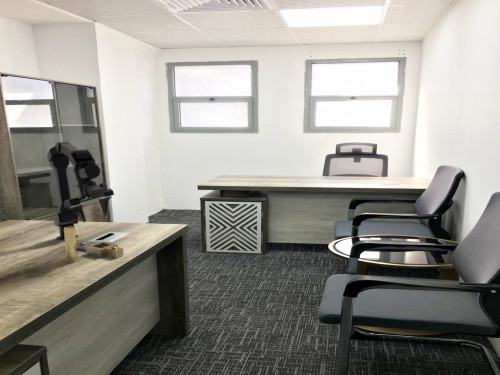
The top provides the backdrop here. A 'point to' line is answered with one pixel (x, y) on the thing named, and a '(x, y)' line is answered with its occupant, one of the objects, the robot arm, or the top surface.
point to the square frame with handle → (101, 249)
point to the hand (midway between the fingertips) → (95, 218)
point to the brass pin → (70, 244)
